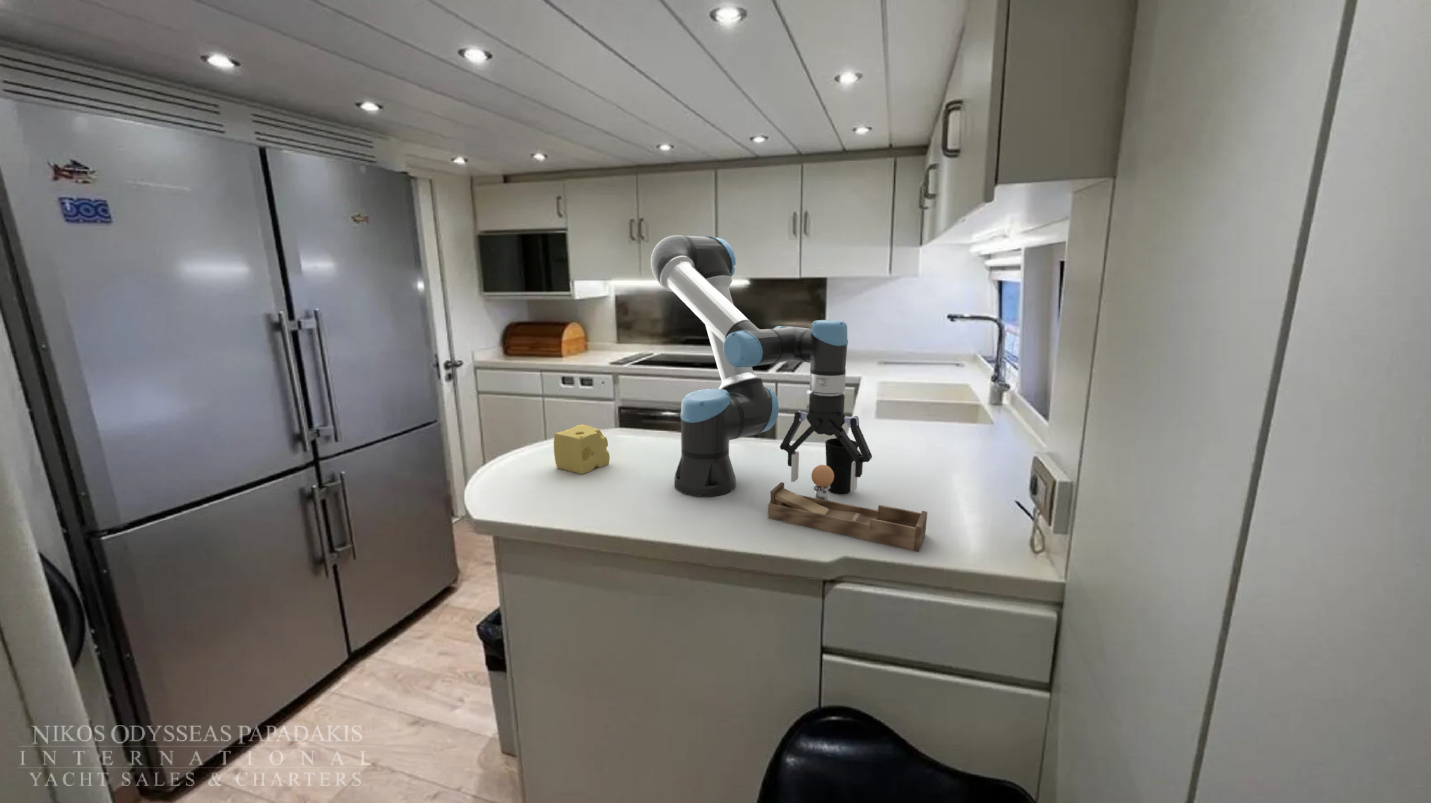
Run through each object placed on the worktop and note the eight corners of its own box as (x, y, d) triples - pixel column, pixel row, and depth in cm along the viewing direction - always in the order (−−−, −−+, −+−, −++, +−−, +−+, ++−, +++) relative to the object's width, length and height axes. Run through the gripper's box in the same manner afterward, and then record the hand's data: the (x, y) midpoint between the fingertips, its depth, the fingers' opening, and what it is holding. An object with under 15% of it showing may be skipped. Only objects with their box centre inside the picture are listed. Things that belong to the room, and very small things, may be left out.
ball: (807, 488, 125) (808, 466, 124) (814, 480, 130) (815, 460, 129) (829, 492, 123) (830, 470, 122) (836, 484, 127) (837, 463, 126)
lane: (768, 517, 121) (768, 492, 119) (781, 504, 128) (782, 480, 126) (919, 551, 107) (921, 523, 105) (925, 534, 114) (927, 507, 112)
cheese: (610, 464, 154) (608, 429, 151) (581, 476, 145) (579, 439, 142) (582, 457, 159) (581, 423, 157) (553, 468, 150) (551, 432, 148)
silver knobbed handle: (806, 507, 126) (807, 486, 125) (813, 499, 131) (814, 479, 130) (828, 511, 124) (829, 490, 123) (835, 503, 128) (836, 483, 127)
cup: (855, 497, 132) (858, 448, 129) (822, 494, 134) (825, 446, 131) (854, 485, 139) (857, 439, 137) (823, 482, 141) (825, 437, 138)
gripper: (767, 390, 124) (765, 481, 129) (882, 401, 112) (875, 500, 117) (779, 384, 130) (777, 471, 135) (889, 394, 119) (883, 488, 124)
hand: (823, 485), depth 126 cm, fingers open, 13 cm apart
